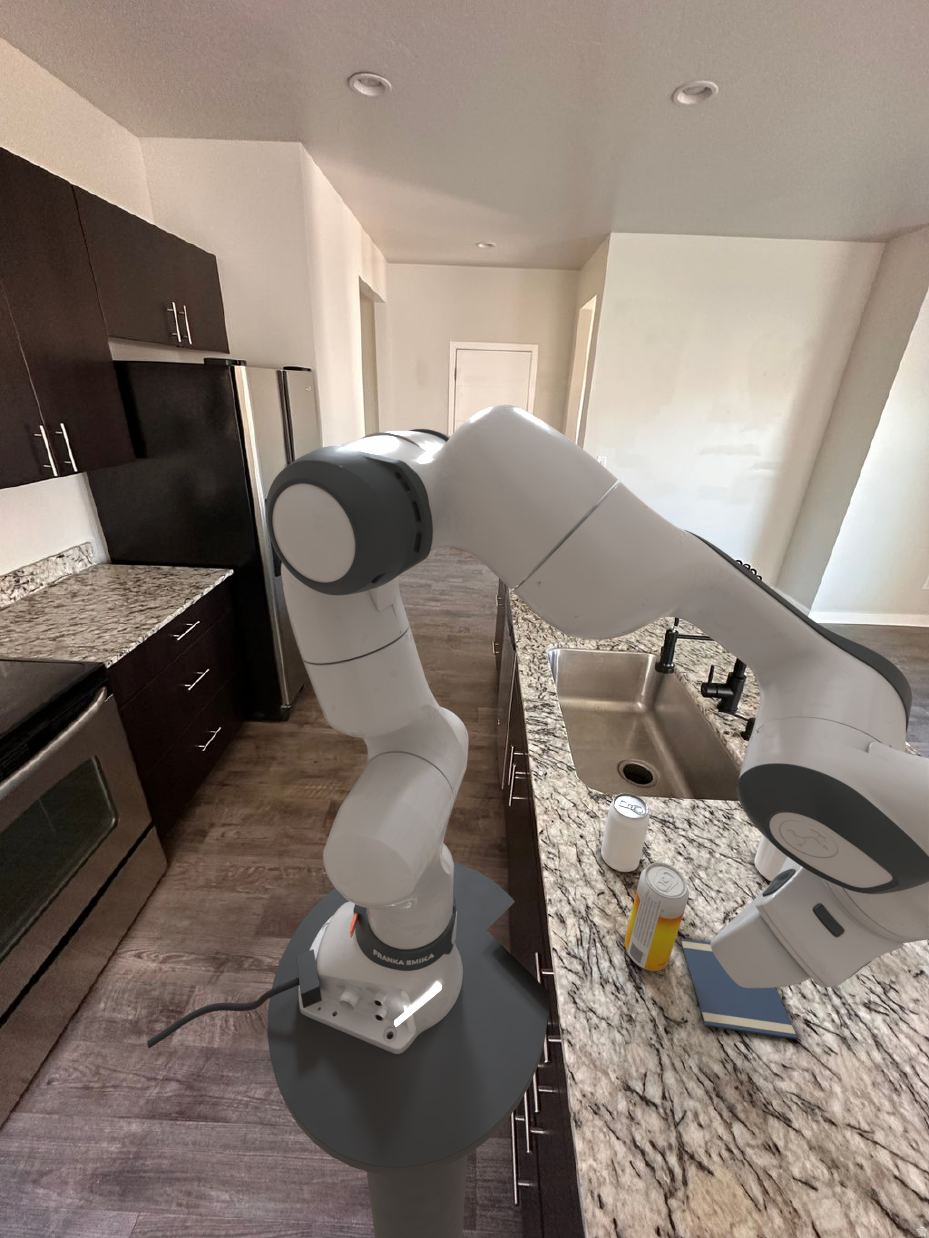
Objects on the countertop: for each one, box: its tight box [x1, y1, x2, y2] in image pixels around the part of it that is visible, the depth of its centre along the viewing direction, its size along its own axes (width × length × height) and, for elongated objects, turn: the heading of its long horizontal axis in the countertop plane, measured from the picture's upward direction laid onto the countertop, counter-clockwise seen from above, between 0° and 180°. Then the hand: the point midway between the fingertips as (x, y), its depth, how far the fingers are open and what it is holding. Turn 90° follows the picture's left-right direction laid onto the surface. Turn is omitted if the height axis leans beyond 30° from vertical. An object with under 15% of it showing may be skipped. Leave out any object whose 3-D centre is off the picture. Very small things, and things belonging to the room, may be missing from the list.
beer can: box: [624, 862, 690, 972], centre depth 67 cm, size 6×6×15 cm
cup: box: [753, 833, 787, 882], centre depth 80 cm, size 8×8×14 cm
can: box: [600, 792, 651, 873], centre depth 82 cm, size 6×6×12 cm
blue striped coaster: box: [680, 938, 798, 1041], centre depth 66 cm, size 11×11×1 cm
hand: (752, 911), depth 50 cm, fingers open, 8 cm apart
